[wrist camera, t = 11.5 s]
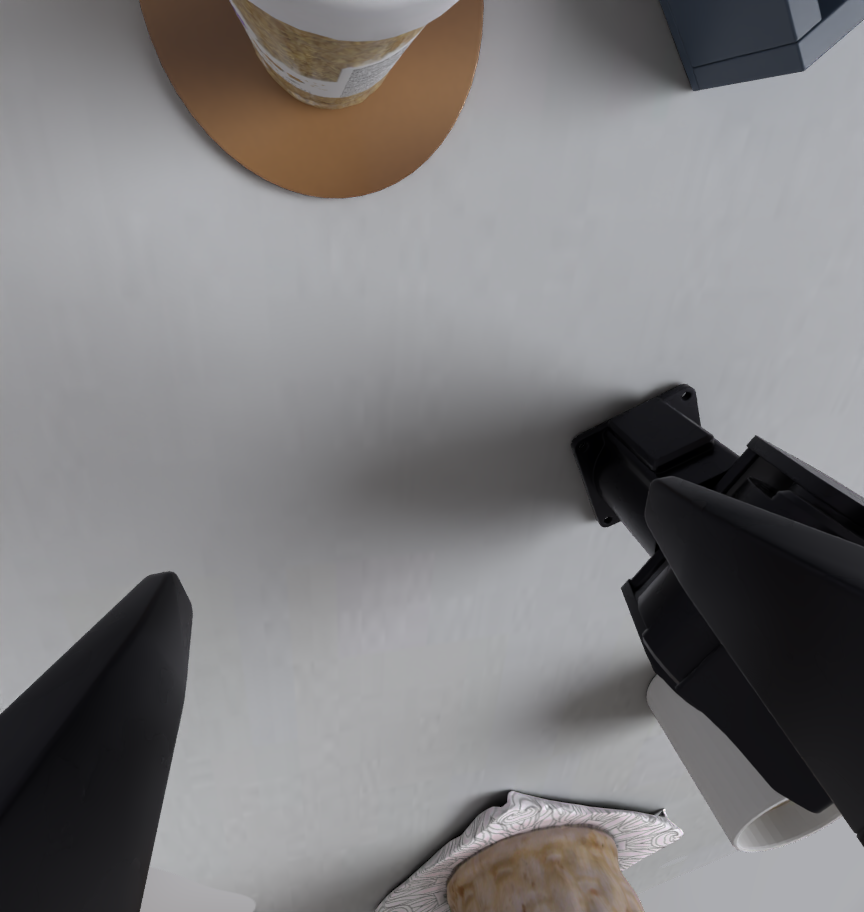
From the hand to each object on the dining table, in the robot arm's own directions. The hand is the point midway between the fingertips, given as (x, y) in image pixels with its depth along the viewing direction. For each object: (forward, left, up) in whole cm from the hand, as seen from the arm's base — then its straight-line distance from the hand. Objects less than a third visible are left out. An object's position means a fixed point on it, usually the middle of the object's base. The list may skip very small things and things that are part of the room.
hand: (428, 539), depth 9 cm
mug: (-38, -10, -13) cm, 41 cm away
